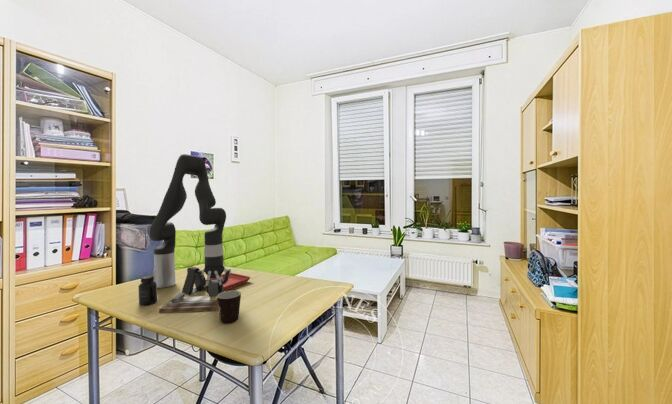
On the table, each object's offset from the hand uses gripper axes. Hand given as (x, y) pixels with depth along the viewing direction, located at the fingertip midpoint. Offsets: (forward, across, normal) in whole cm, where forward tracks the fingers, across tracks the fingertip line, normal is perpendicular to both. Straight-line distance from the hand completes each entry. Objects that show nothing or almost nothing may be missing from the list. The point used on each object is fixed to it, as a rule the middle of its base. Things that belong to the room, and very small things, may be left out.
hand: (214, 293), depth 124 cm
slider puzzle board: (+5, +6, -1) cm, 8 cm away
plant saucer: (+6, +4, -28) cm, 29 cm away
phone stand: (+6, +16, -19) cm, 26 cm away
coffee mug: (+5, -10, +17) cm, 21 cm away
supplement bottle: (+6, +30, -5) cm, 31 cm away
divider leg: (+3, 0, -1) cm, 3 cm away
